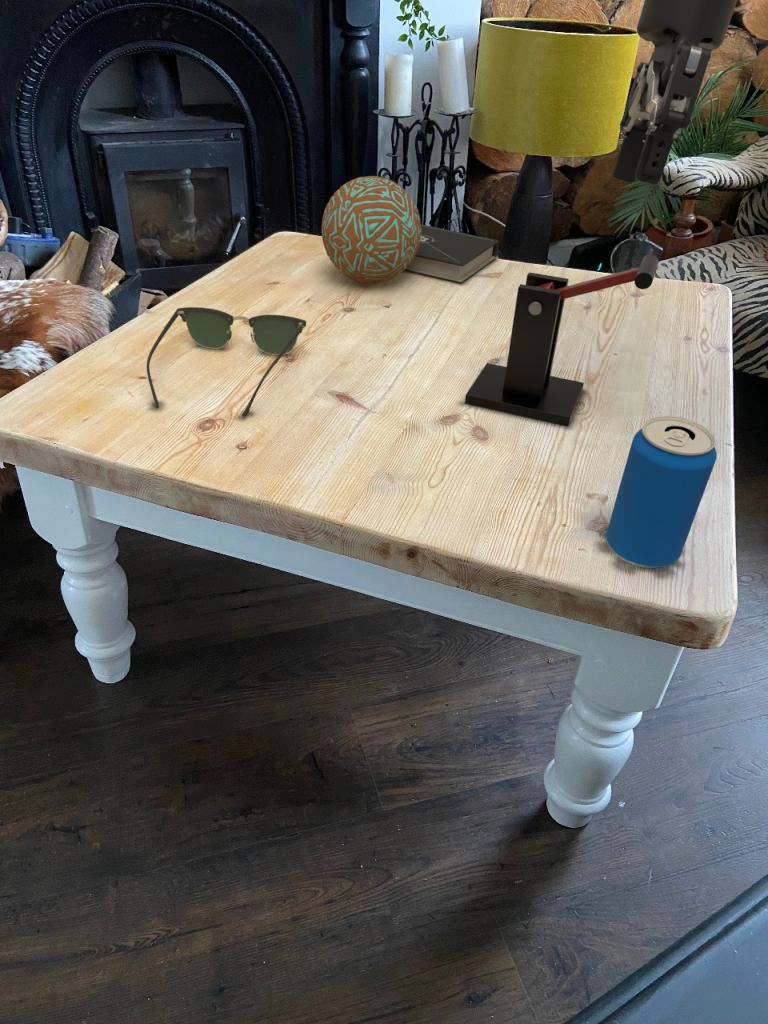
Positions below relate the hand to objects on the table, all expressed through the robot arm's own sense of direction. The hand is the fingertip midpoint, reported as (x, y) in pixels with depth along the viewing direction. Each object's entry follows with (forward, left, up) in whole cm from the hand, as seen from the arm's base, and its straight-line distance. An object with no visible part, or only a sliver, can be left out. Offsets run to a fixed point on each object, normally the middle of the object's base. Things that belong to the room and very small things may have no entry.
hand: (633, 181), depth 71 cm
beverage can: (-9, +23, -25) cm, 35 cm away
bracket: (+7, 0, -25) cm, 26 cm away
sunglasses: (+41, +11, -25) cm, 49 cm away
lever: (+1, 0, -12) cm, 12 cm away
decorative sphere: (+38, -27, -25) cm, 53 cm away
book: (+34, -40, -25) cm, 59 cm away
